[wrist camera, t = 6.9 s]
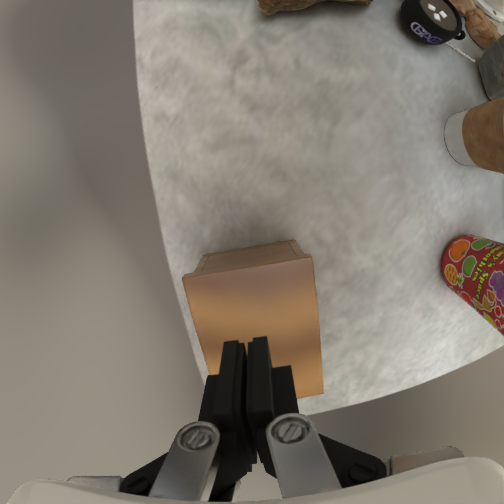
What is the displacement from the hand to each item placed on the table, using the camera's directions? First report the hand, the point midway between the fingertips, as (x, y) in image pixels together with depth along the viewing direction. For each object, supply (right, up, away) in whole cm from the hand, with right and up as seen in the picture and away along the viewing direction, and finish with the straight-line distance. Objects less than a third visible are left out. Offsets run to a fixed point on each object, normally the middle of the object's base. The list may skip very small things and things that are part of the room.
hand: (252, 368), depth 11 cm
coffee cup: (+23, +17, +14) cm, 32 cm away
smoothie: (+24, +4, +17) cm, 30 cm away
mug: (+21, +29, +10) cm, 37 cm away
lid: (+1, -2, +11) cm, 11 cm away
